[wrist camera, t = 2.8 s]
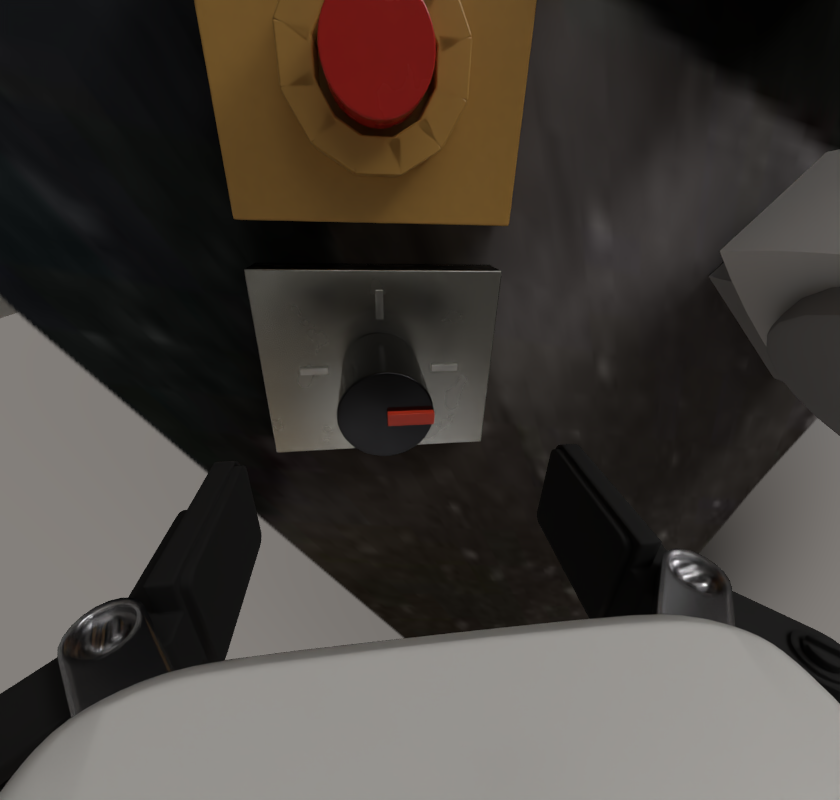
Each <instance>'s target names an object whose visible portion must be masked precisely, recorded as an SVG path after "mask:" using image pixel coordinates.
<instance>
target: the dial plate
mask: <svg viewBox="0 0 840 800" xmlns="http://www.w3.org/2000/svg"><path fill="white" fill-rule="evenodd" d="M244 273H245V279H246V284H247V290H248V295H249V301H250V306H251V312H252V318H253V323H254V329H255V334H256V340H257V346H258V351H259V357H260V362H261V368H262V373H263V379H264V385H265V390H266V396H267V401H268V407H269V413H270V418H271V424H272V429H273V435H274V440H275V446H276V451H277V452H296V451H314V450H332V449H351V448H355V447H353V446H352V445H351V444H350V443H349V442H348V441H347V440H346V439H345V438H344V436H343V435H342V433H341V431H340V429H339V426H338V422H337V407H338V398H339V389H340V380H341V371H342V363H343V359H344V356H345V354H346V352H347V351H348V349H349V348H350V347H351V345H352V344H353V343H355V342H356V341H357V340H359V339H360V338H362V337H364V336H367V335H370V334H375V333H386V334H391V335H395V336H397V337H399V338H401V339H403V340H404V341H405V342H407V343H408V344H409V345H410V346H411V348H412V349H413V350H414V352H415V354H416V356H417V359H418V362H419V365H420V368H421V371H422V374H423V376H424V379H425V382H426V385H427V388H428V391H429V394H430V396H431V399H432V402H433V407H434V413H435V415H434V424H432V425H431V427H430V430H429V431H428V433H427V435H426V436H425V437H424V439H423V440H422V441H421V442H420V443H419V444H417V445H424V444H442V443H460V442H478V441H481V436H482V427H483V419H484V411H485V403H486V395H487V387H488V379H489V370H490V362H491V354H492V346H493V338H494V330H495V322H496V313H497V305H498V297H499V289H500V281H501V273H502V272H501V271H500V270H498V269H496V268H494V267H492V266H491V265H457V264H347V263H254V264H252V265H251V266H249V267H247V268H246V269H244Z"/></svg>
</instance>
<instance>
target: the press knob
mask: <svg viewBox="0 0 840 800" xmlns="http://www.w3.org/2000/svg"><path fill="white" fill-rule="evenodd" d="M317 44H318V53H319V58H320V62H321V66H322V69H323V73H324V76H325V79H326V82H327V85H328V88H329V90H330V92H331V94H332V96H333V98H334V100H335V101H336V103H337V104H338V106H339V107H340V108H341V109H342V111H343V112H344V113H345V114H346V115H347V116H349V117H350V118H351V119H352V120H354V121H355V122H357V123H359V124H361V125H363V126H366V127H369V128H375V129H385V128H390V127H393V126H396V125H398V124H399V123H401V122H403V121H404V120H405V119H407V118H408V117H409V116H410V115H411V114H412V113H413V111H414V110H415V109H416V107H417V106H418V104H419V103H420V101H421V99H422V98H423V96H424V94H425V92H426V91H427V89H428V86H429V84H430V82H431V79H432V75H433V71H434V66H435V58H436V41H435V33H434V28H433V23H432V20H431V17H430V14H429V12H428V9H427V7H426V5H425V3H424V1H423V0H324V2H323V5H322V8H321V11H320V15H319V20H318V29H317Z"/></svg>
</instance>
